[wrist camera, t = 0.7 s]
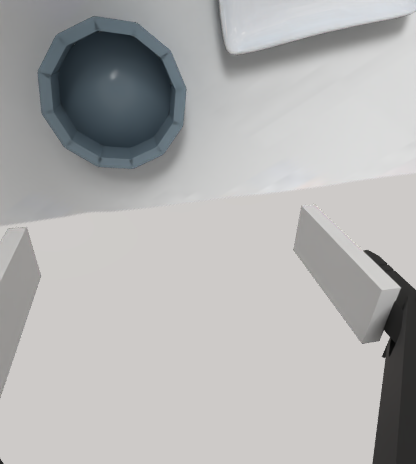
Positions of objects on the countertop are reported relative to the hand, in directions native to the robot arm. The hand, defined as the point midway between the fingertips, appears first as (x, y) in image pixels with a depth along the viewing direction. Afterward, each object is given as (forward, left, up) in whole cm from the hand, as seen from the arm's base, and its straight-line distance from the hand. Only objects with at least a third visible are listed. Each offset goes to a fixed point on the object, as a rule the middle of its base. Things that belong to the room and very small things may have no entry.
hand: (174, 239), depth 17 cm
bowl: (-4, -2, -25) cm, 26 cm away
